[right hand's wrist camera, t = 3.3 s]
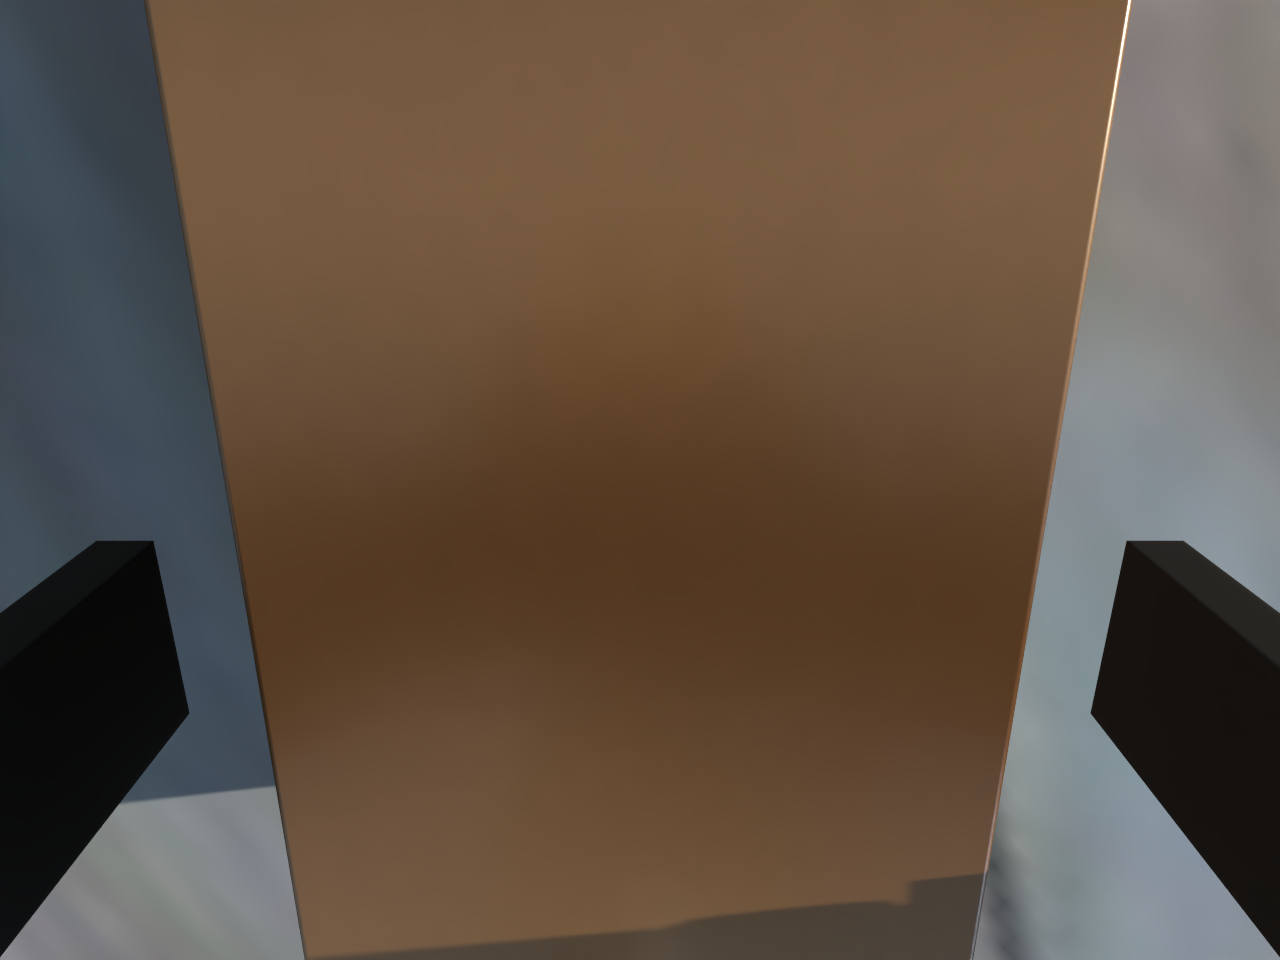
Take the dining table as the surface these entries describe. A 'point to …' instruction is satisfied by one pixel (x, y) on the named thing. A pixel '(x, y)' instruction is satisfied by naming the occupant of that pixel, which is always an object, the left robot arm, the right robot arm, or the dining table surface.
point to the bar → (638, 449)
